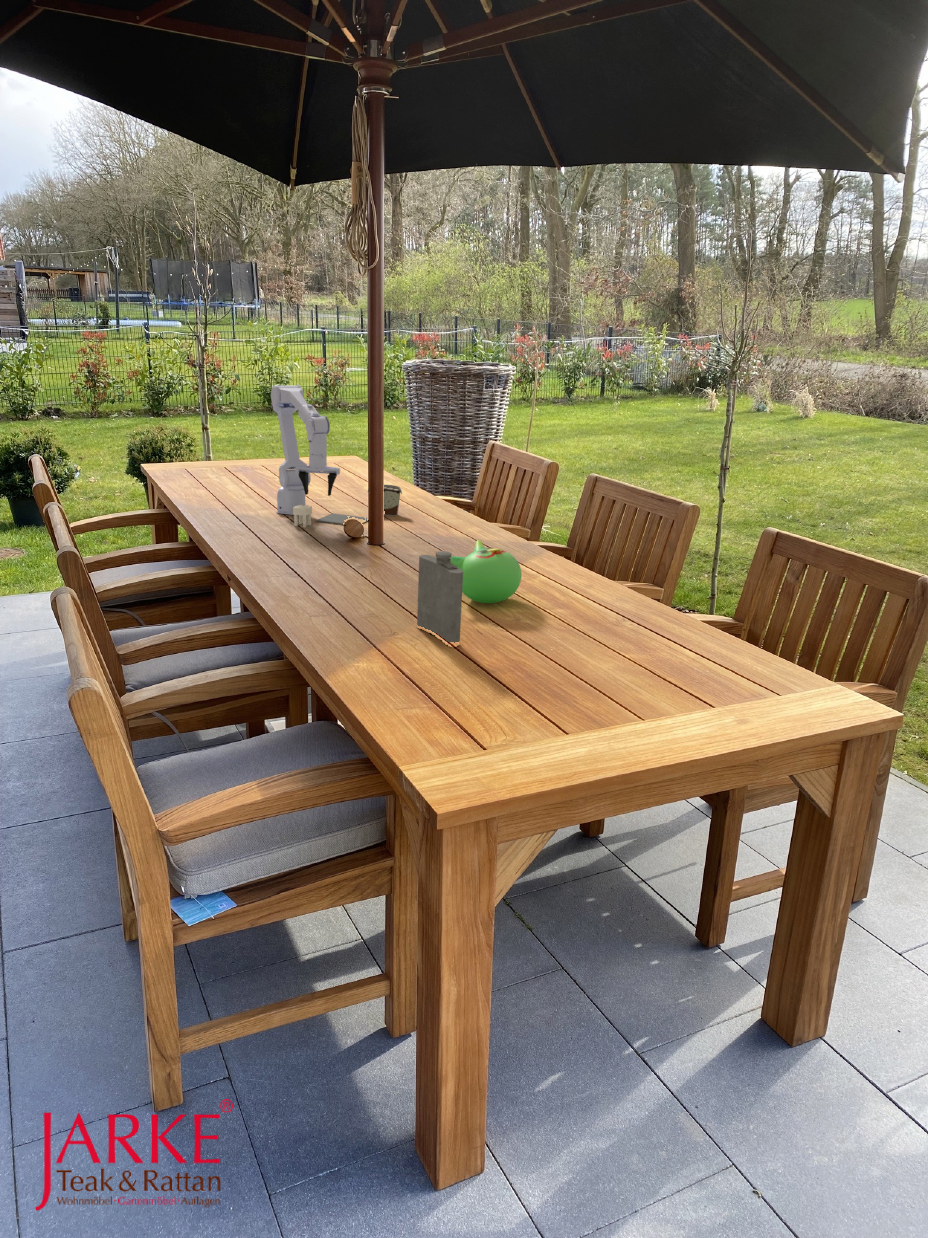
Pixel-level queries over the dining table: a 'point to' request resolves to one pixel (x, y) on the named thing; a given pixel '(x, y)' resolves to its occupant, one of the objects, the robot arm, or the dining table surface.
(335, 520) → the mat
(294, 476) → the robot arm
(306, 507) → the cream block with pegs
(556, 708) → the dining table surface
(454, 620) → the hip flask
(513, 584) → the toy bird
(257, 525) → the dining table surface
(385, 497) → the food container
